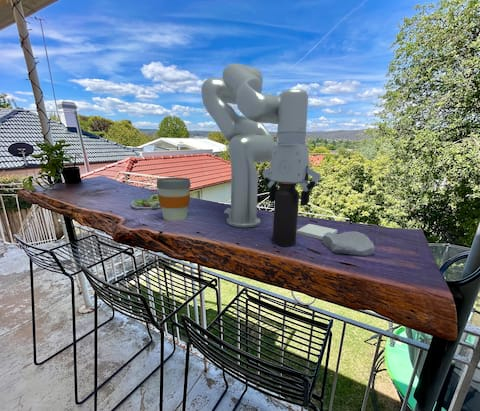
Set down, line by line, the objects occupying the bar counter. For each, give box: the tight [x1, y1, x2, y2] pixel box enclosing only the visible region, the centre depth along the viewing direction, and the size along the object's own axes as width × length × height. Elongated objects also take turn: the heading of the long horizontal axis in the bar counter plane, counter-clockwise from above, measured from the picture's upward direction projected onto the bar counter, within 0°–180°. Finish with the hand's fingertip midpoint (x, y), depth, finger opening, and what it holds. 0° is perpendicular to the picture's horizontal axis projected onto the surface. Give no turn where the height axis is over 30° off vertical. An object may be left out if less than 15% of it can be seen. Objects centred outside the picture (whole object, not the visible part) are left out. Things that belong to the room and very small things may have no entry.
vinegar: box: [272, 182, 300, 247], centre depth 69 cm, size 7×7×20 cm
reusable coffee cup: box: [156, 177, 192, 222], centre depth 93 cm, size 13×13×15 cm
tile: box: [296, 223, 338, 241], centre depth 80 cm, size 10×10×1 cm
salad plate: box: [130, 193, 162, 211], centre depth 113 cm, size 19×18×5 cm
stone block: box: [321, 230, 375, 257], centre depth 68 cm, size 12×5×10 cm
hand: (288, 202), depth 68 cm, fingers open, 9 cm apart
